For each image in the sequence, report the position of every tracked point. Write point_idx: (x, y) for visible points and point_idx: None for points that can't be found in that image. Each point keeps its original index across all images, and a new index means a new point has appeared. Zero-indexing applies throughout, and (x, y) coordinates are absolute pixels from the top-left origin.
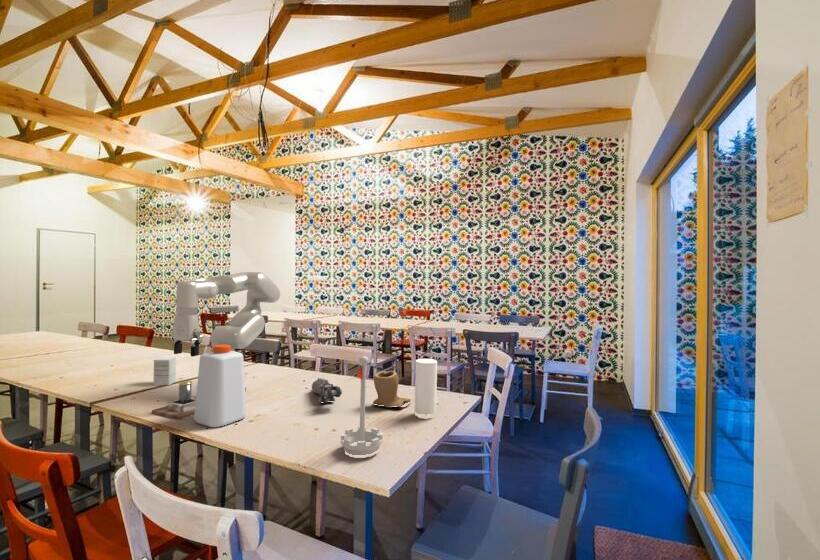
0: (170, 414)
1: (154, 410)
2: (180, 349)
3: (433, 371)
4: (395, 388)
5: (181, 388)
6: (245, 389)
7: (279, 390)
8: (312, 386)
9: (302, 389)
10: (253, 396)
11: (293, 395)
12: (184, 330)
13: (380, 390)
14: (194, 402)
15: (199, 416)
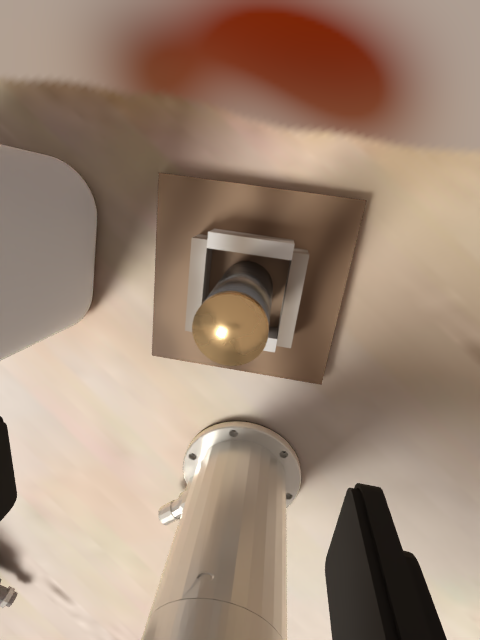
0: (223, 181)
1: (349, 200)
2: (338, 608)
3: None
4: None
5: (227, 286)
6: (160, 510)
7: (115, 559)
8: None
9: (58, 579)
10: (141, 491)
11: (33, 525)
12: None
13: None
14: (187, 296)
15: (8, 148)
